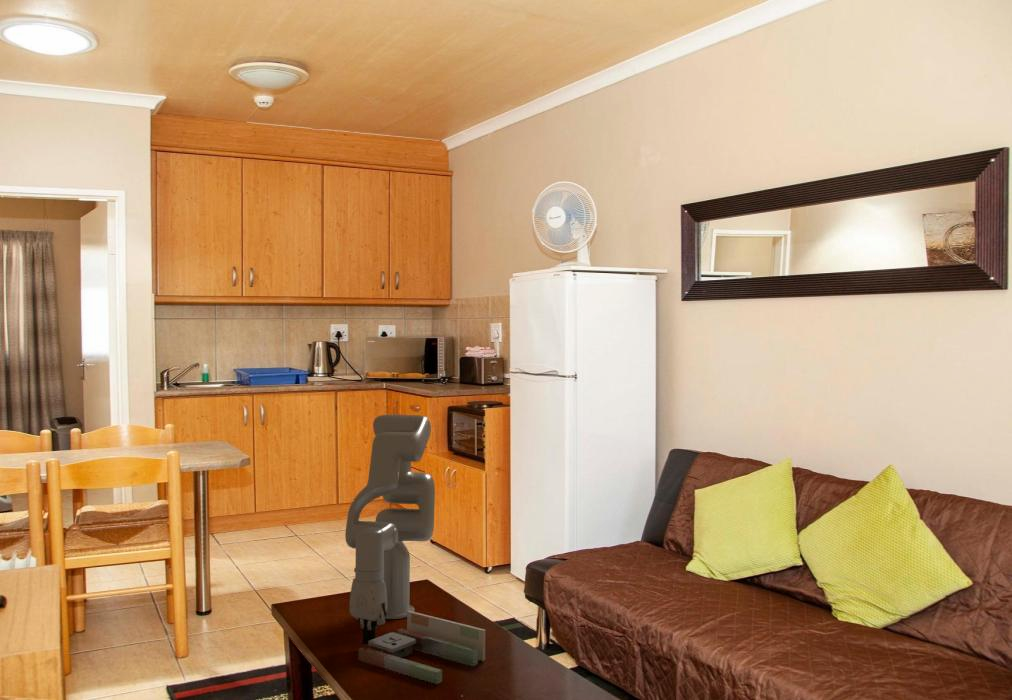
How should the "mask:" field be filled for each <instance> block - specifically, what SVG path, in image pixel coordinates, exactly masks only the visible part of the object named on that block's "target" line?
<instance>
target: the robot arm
mask: <svg viewBox="0 0 1012 700" xmlns="http://www.w3.org/2000/svg"><path fill="white" fill-rule="evenodd" d="M372 426H373V427H372V428H373V434H374V437H373V439H372V443H371V444H372V445H371V455H370V463H369V470H368V480H367V484H366V485H365V486H364V487H363V488H362V490H361V489H360V491H359V492H358V494H357V495H355V498H354V499H353V501H352V502H351V503H350V506H349V508H348V512H347V517H346V518H347V519H346V524H345V525H346V526H345V535H344V536H345V543H346V544H347V546H348V547H350V548H351V549H355V567H354V570H353V572H354V573H355V574H354V576H355V577H354V578H353V579H352V583H351V588H350V596H349V614H350V615H351V616H352V617H353V618H354V619H356V620H358V622H359V625H360V628H361V629H362V644H363V645H366V646H369V645H368V641H369V640H372V639H375V638H376V629H377V628H378V627H379V626H381V625H385V624H386V620H398V619H404V618H407V611H412V612H415V607H414V606H413V605H410V594H411V593H410V590H411V589H410V582H411V581H410V580H411V579H410V578H411V577H410V575H411V574H410V573H411V571H410V570H411V564H410V563H411V557H410V551H409V550H408V548H407V546H406V544H405V543H404V542H427V541H430V540H431V539H432V537H433V535H434V534H433V533H434V528H435V526H434V525H435V503H436V501H435V500H436V487H435V486H436V485H435V481H434V478H433V476H432V475H431V474H429V473H425V472H413V471H412V463H414V462H415V463H416V462H419V461H420V460H421V459H422V458H423V455H424V453H425V449H426V447H427V445H428V442H429V439H430V436H431V431H432V430H431V429H432V426H431V422H430V419H429V418H428V417H427V416H425V415H421V414H420V415H419V414H382V415H379V416H376V417H375V418H374V420H373V423H372ZM380 497H382V499H383V500H384V502H386V503H389V504H395V505H396V504H398V505H399V504H400V505H417V507H418V508H401V507H398V508H396V507H394V508H393V507H391V508H384V509H382V510H380V511H379V512H378V513H377V514H376V516H375V521H370V520H369V521H366V520H365V521H364V520H360V515H361V513H362V511H363V509H364V508H365V507H366V506H367V504H369V503H371V502H372V501H374V500H376V499H378V498H380Z"/></svg>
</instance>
